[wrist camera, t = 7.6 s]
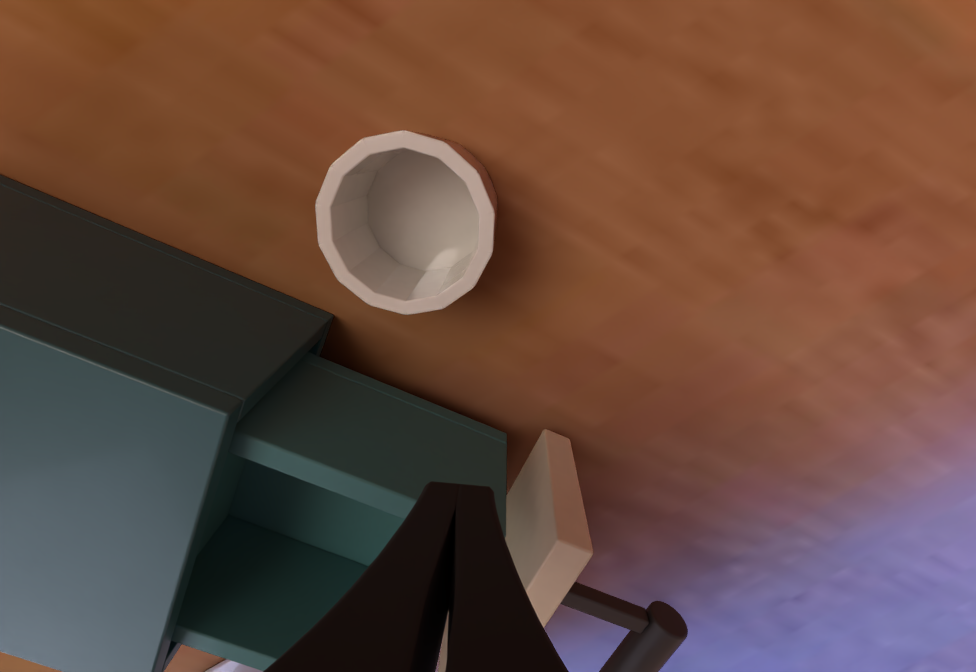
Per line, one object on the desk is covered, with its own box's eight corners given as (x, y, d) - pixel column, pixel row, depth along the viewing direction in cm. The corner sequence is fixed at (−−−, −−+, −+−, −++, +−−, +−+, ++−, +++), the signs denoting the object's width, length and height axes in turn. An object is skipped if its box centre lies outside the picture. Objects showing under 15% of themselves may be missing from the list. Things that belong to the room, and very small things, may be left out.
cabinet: (334, 314, 20) (229, 414, 13) (260, 525, 24) (145, 699, 16) (-13, 168, 19) (-369, 182, 11) (-33, 418, 23) (-307, 554, 15)
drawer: (675, 481, 21) (738, 609, 15) (562, 642, 25) (579, 798, 19) (278, 316, 19) (176, 390, 13) (216, 515, 23) (113, 644, 17)
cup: (525, 225, 19) (531, 247, 14) (416, 303, 20) (391, 345, 16) (441, 103, 17) (419, 88, 13) (329, 195, 19) (277, 208, 14)
